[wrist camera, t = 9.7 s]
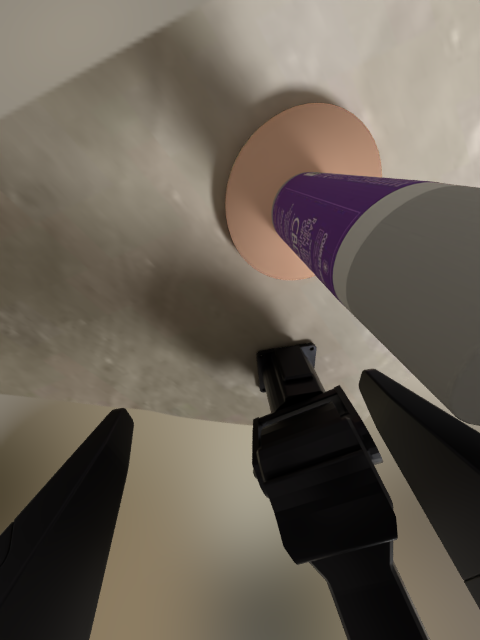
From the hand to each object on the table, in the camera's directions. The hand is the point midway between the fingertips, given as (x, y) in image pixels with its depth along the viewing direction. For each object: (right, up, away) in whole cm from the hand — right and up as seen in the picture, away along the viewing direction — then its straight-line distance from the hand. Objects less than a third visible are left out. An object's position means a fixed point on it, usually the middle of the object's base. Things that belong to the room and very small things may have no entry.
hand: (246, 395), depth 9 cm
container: (+4, +11, +8) cm, 14 cm away
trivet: (+4, +11, +9) cm, 15 cm away
